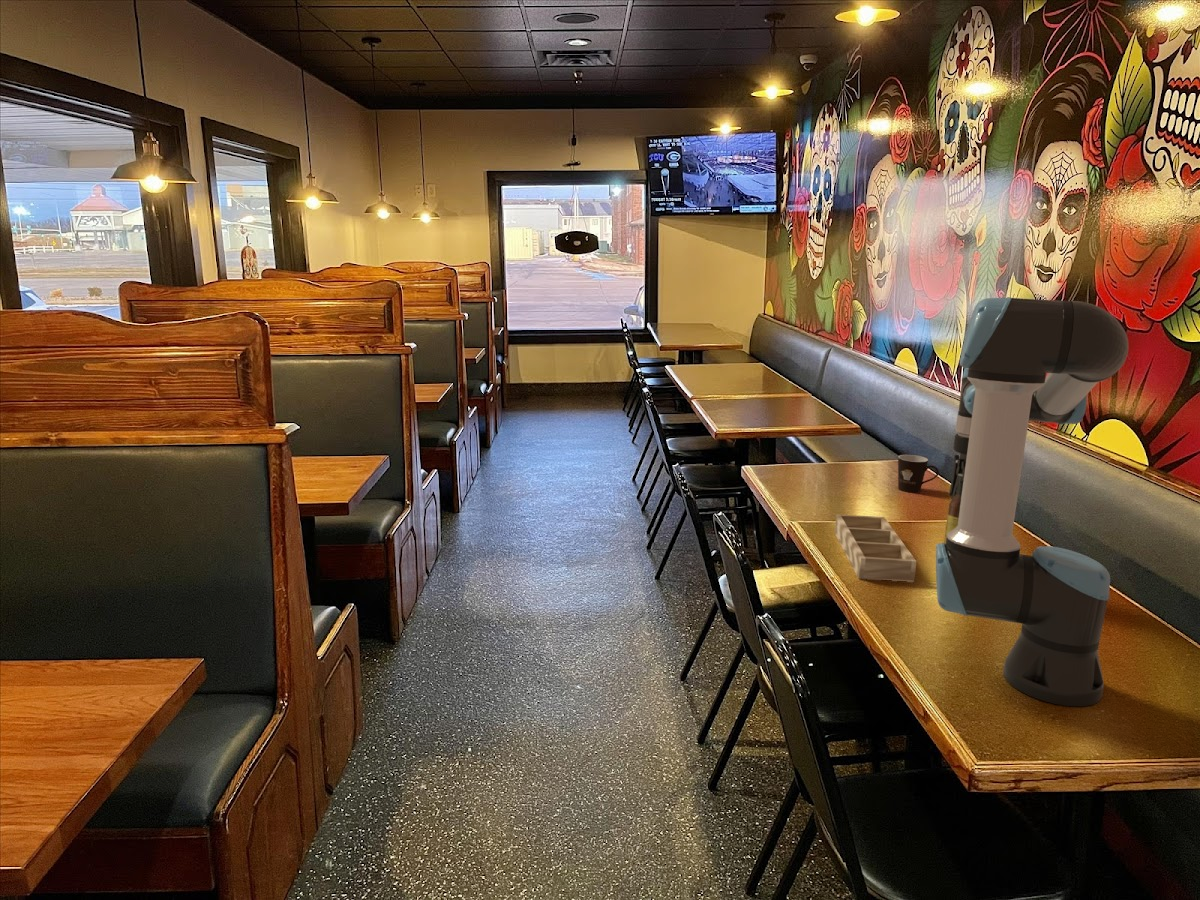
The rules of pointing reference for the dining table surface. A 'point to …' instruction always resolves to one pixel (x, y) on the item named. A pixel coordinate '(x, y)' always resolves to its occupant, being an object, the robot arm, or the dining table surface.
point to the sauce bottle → (954, 508)
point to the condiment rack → (874, 548)
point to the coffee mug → (912, 472)
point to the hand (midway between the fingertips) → (959, 534)
